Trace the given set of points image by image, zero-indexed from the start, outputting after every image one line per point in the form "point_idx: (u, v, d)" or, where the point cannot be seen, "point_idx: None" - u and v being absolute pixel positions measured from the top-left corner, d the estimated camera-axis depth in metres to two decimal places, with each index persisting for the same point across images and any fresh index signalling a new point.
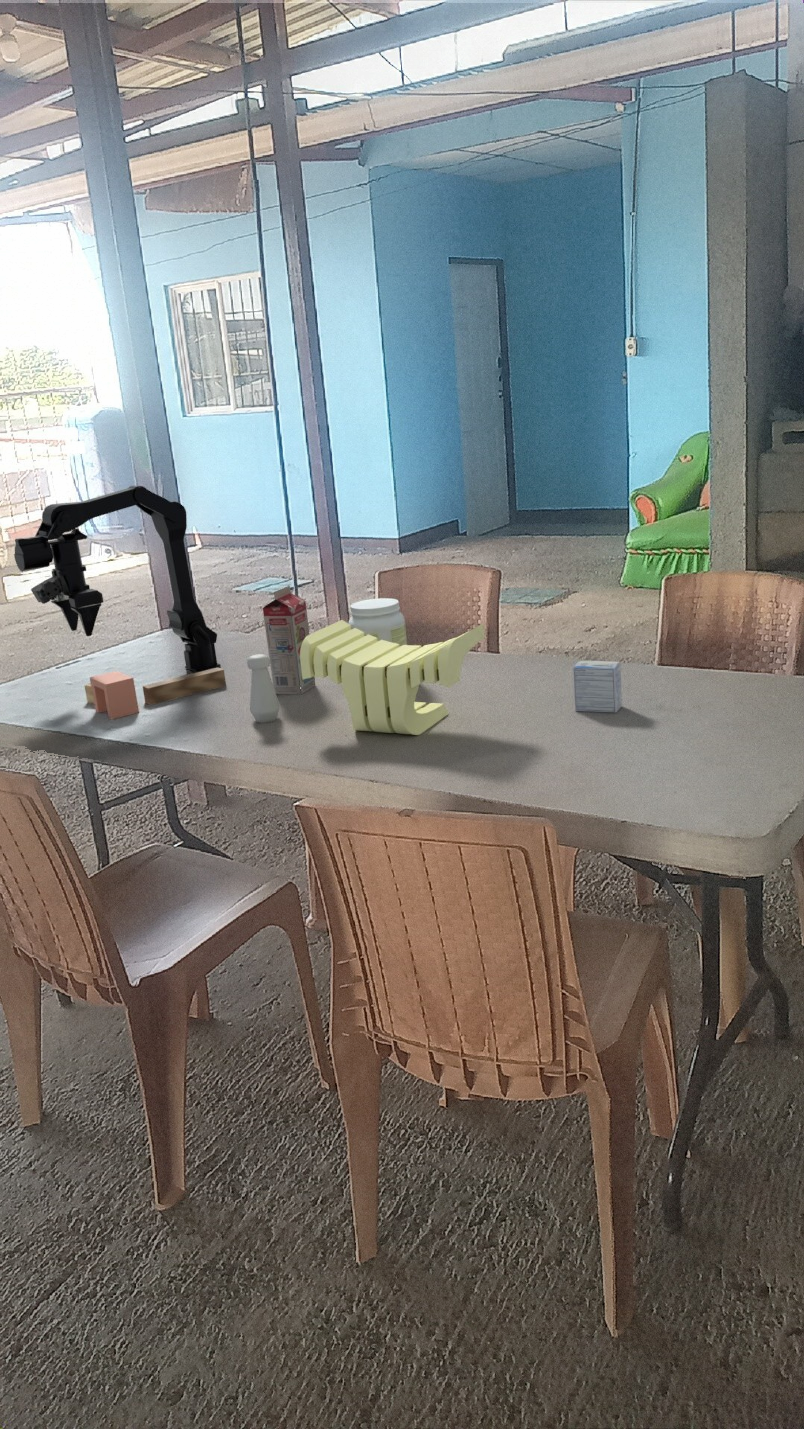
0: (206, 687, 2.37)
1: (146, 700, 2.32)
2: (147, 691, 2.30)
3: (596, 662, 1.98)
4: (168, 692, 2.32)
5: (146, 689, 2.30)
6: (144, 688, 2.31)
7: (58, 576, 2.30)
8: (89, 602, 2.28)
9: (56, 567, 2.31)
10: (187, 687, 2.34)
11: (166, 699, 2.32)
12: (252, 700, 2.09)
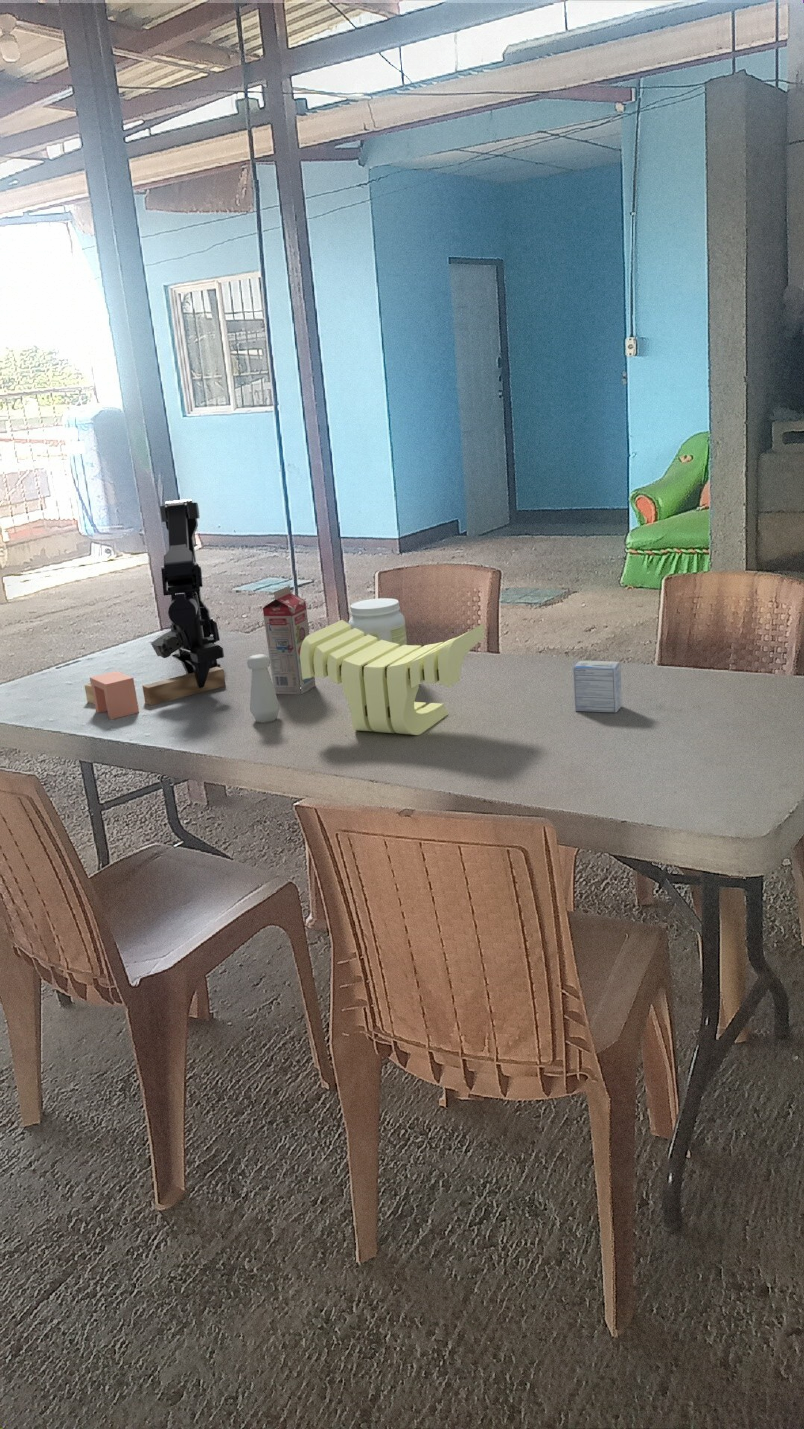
0: (205, 686, 2.37)
1: (145, 699, 2.31)
2: (147, 690, 2.29)
3: (596, 662, 1.98)
4: (168, 691, 2.32)
5: (146, 688, 2.29)
6: (144, 688, 2.30)
7: (178, 630, 2.30)
8: (211, 657, 2.28)
9: None
10: (187, 686, 2.34)
11: (166, 698, 2.32)
12: (252, 700, 2.09)
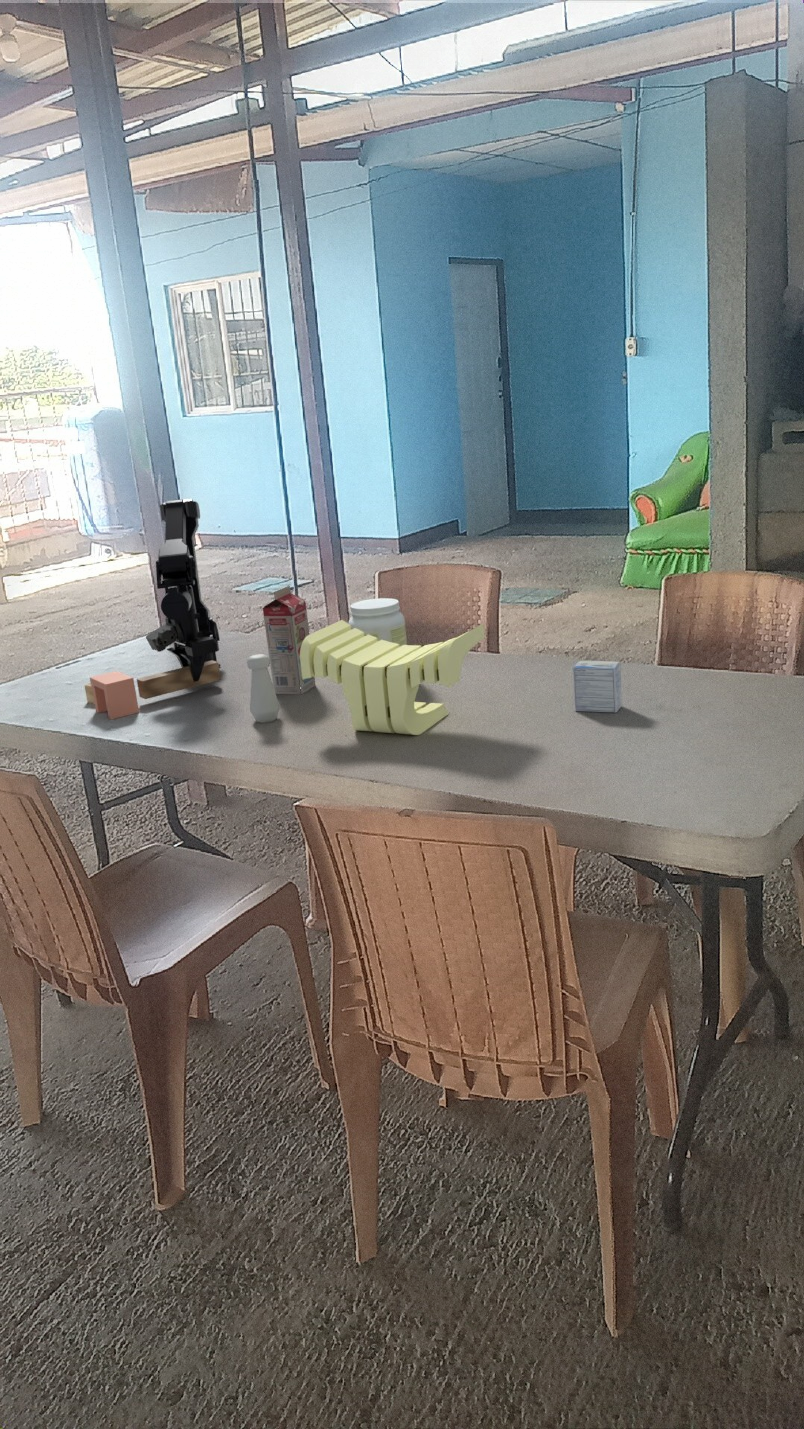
0: (200, 680, 2.36)
1: (140, 693, 2.30)
2: (141, 684, 2.28)
3: (596, 662, 1.98)
4: (163, 685, 2.31)
5: (140, 682, 2.29)
6: (138, 681, 2.29)
7: (173, 624, 2.29)
8: (206, 651, 2.27)
9: None
10: (181, 680, 2.33)
11: (160, 692, 2.31)
12: (252, 700, 2.09)
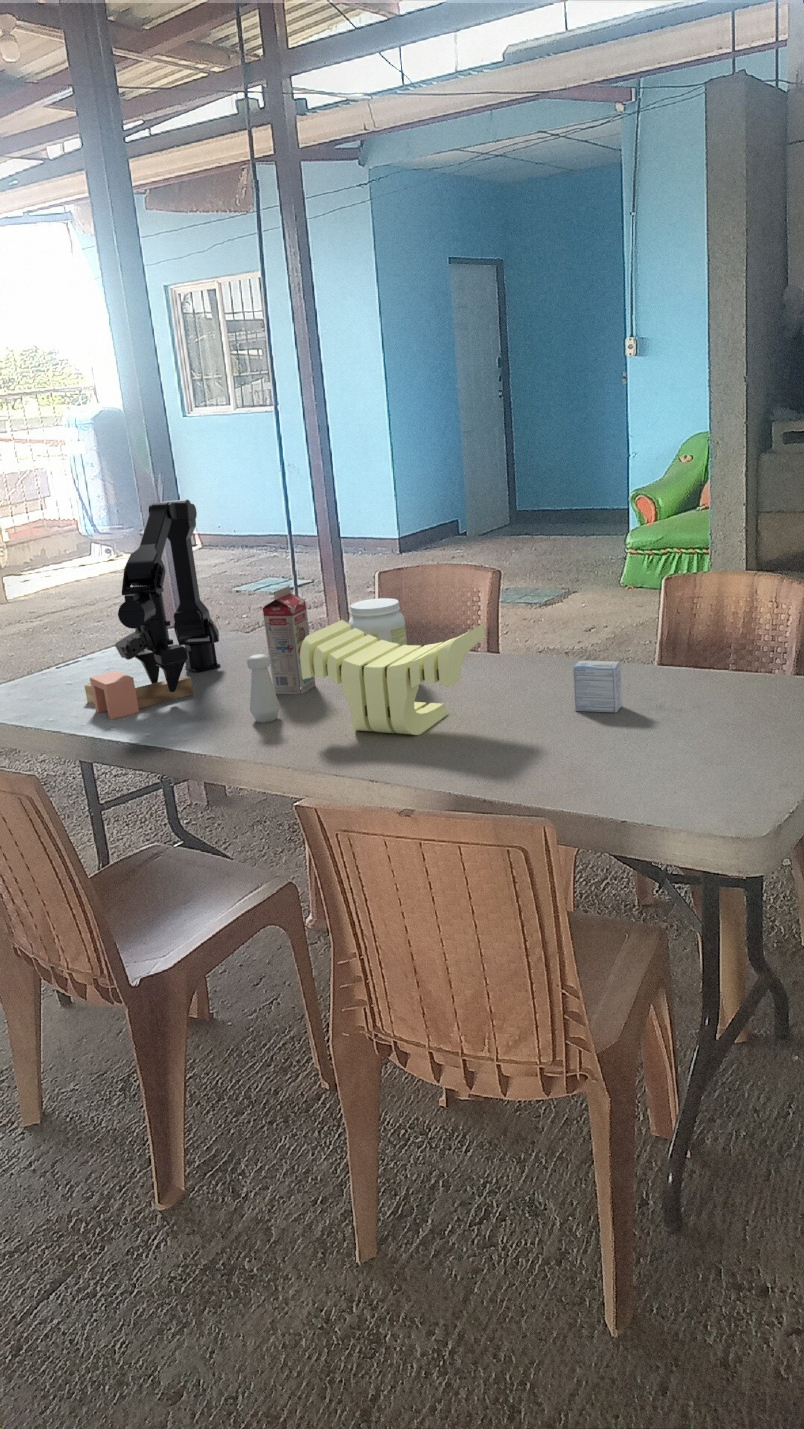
0: (172, 695, 2.33)
1: None
2: None
3: (596, 662, 1.98)
4: None
5: None
6: None
7: (143, 631, 2.25)
8: (175, 659, 2.23)
9: None
10: (153, 696, 2.30)
11: None
12: (252, 700, 2.09)
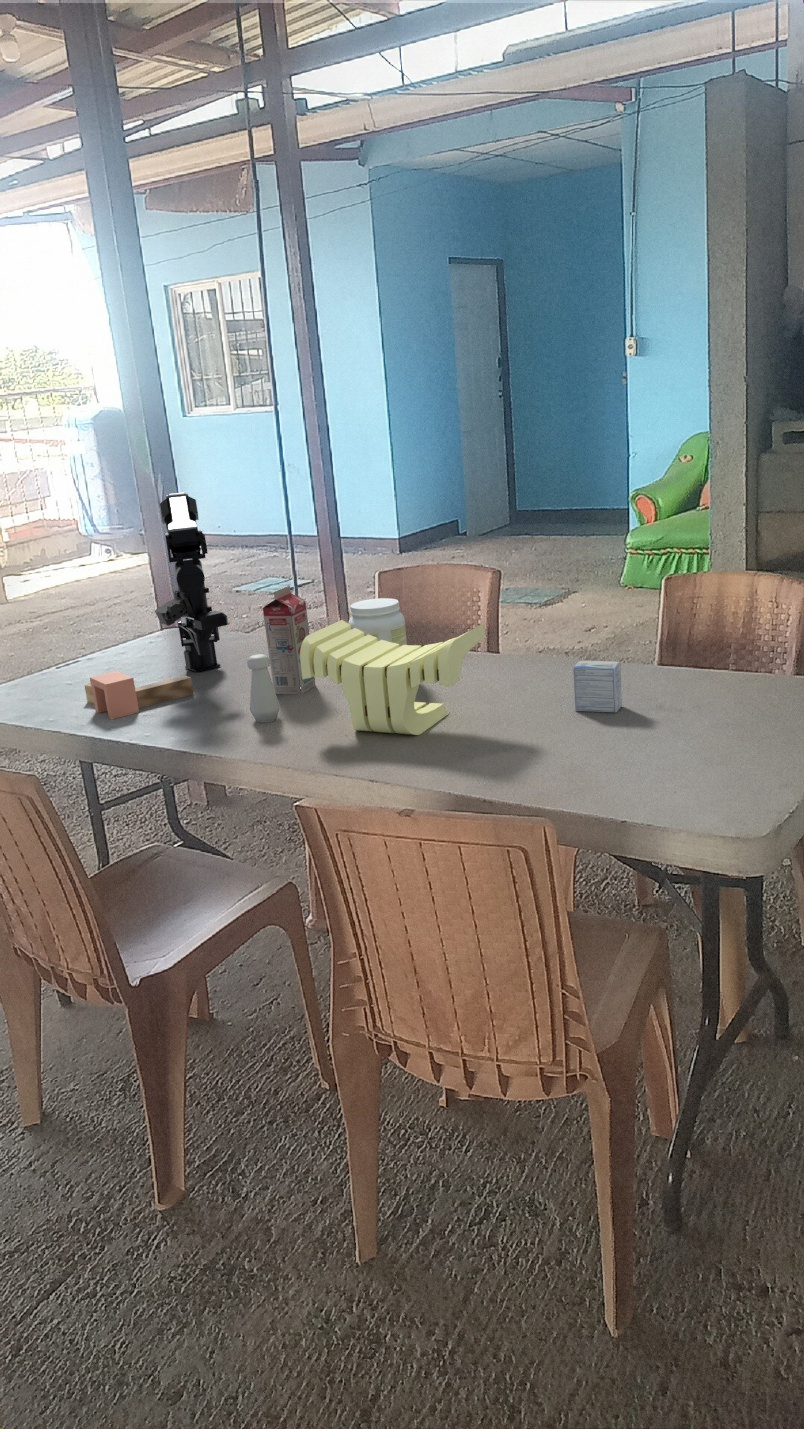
0: (172, 695, 2.32)
1: None
2: None
3: (596, 662, 1.98)
4: None
5: None
6: None
7: (182, 598, 2.29)
8: (215, 624, 2.27)
9: (180, 589, 2.30)
10: (153, 696, 2.30)
11: None
12: (252, 700, 2.09)
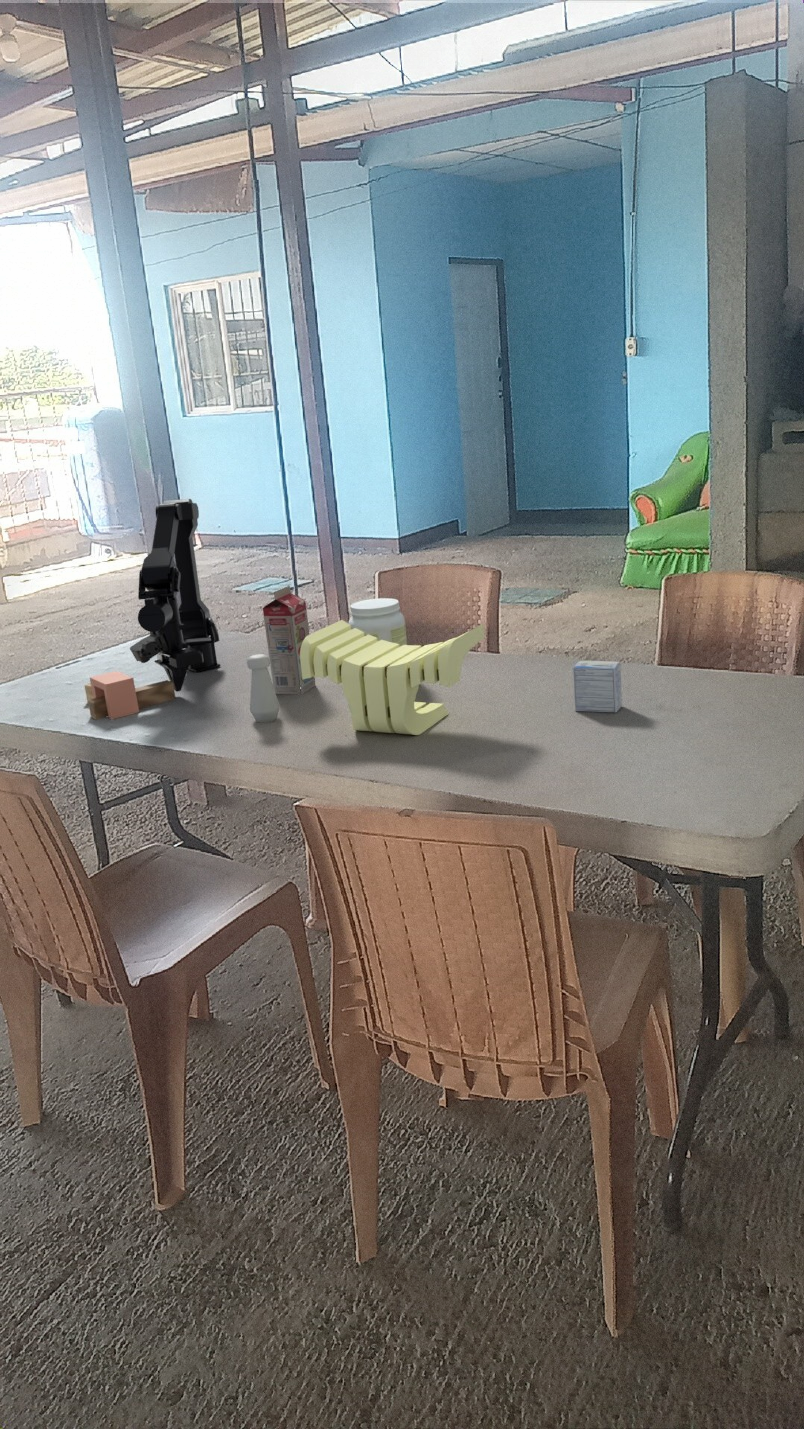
0: (154, 700, 2.30)
1: (91, 714, 2.25)
2: (92, 705, 2.23)
3: (596, 662, 1.98)
4: None
5: (91, 703, 2.23)
6: (89, 702, 2.24)
7: (158, 635, 2.28)
8: (190, 662, 2.25)
9: None
10: None
11: None
12: (252, 700, 2.09)
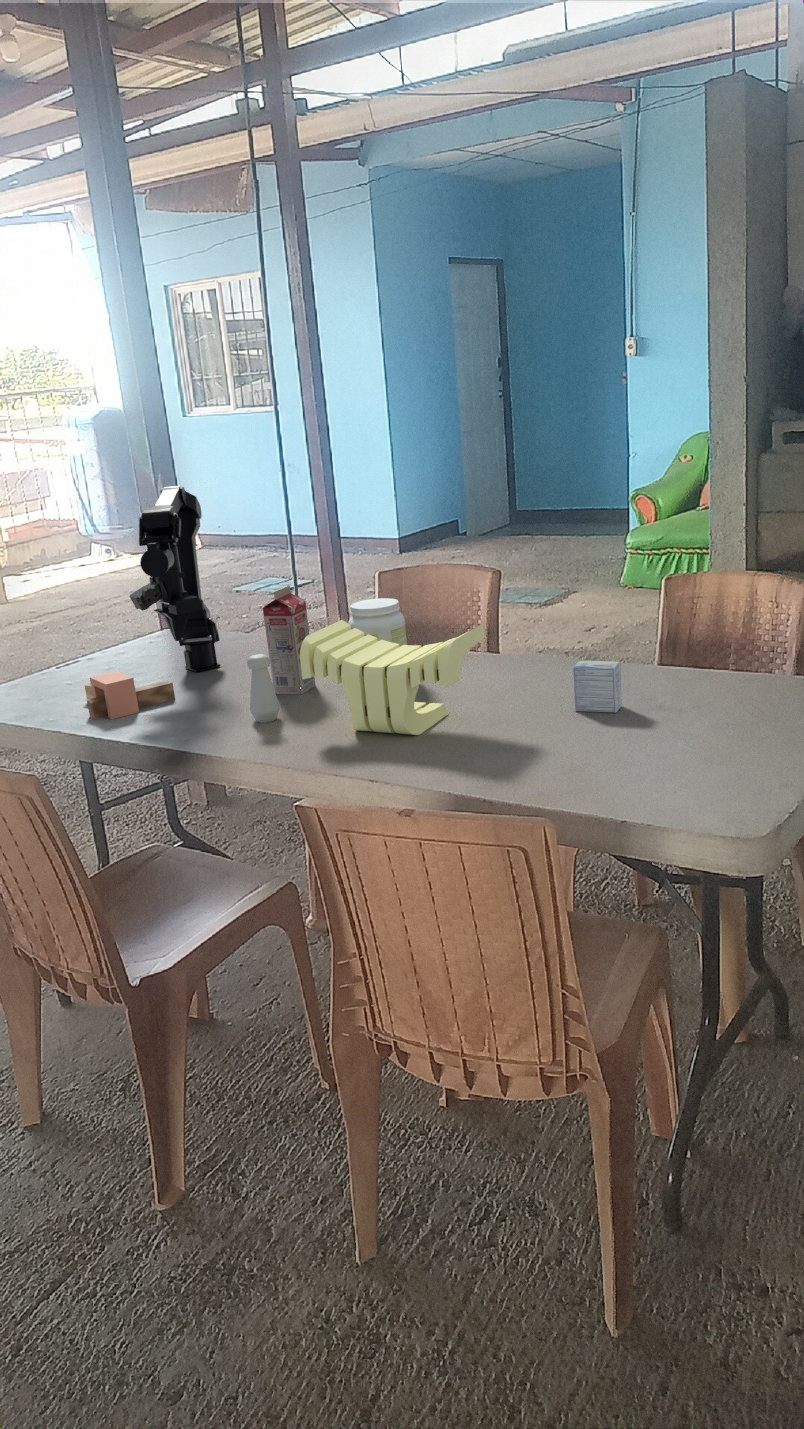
0: (153, 701, 2.30)
1: (90, 714, 2.25)
2: (91, 705, 2.23)
3: (596, 662, 1.98)
4: None
5: (90, 703, 2.23)
6: (88, 702, 2.24)
7: (157, 582, 2.25)
8: (190, 609, 2.23)
9: None
10: None
11: None
12: (252, 700, 2.09)
